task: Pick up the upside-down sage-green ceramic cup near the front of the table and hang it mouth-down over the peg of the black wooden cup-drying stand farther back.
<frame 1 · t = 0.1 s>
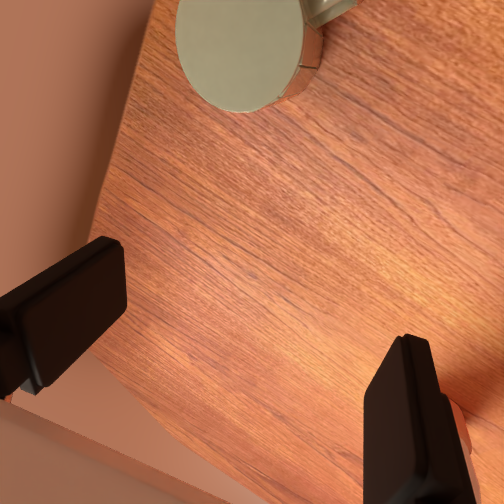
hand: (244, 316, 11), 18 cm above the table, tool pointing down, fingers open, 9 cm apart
pepper shaker: (423, 412, 35), on the table
cup: (273, 49, 23), on the table
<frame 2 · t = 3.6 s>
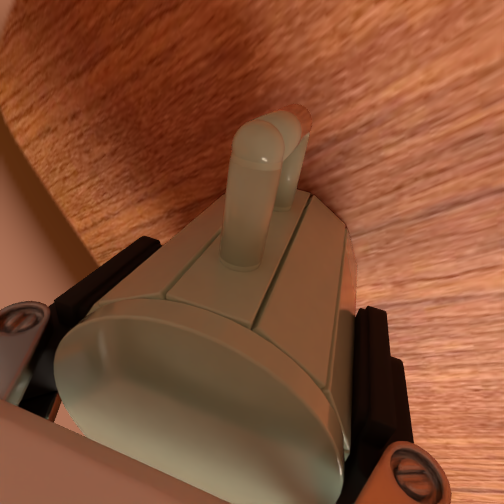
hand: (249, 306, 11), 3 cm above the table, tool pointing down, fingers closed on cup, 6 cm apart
cup: (271, 261, 14), on the table, touching gripper
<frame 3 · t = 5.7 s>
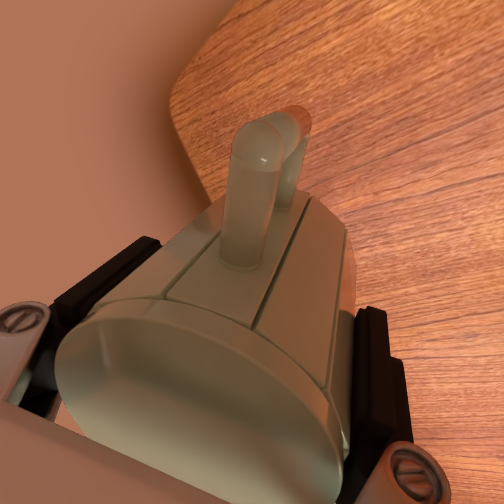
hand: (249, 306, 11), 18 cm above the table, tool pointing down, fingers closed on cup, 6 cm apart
cup: (271, 261, 14), point 15 cm above the table, touching gripper
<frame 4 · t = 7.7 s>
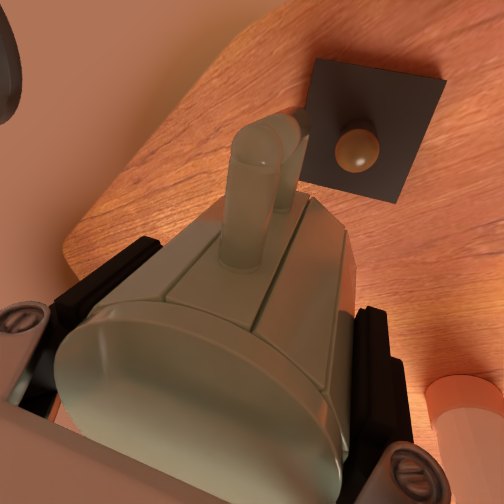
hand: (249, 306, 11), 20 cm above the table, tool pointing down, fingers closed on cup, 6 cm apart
cup stand: (358, 133, 25), on the table
pepper shaker: (462, 397, 35), on the table
cup: (271, 262, 14), point 17 cm above the table, touching gripper
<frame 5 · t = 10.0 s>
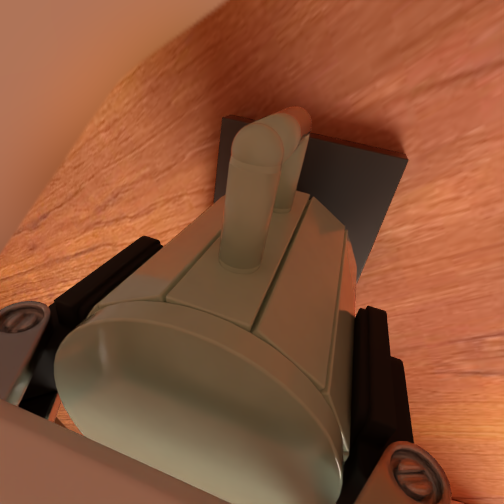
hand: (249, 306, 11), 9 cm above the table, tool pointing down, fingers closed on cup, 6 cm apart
cup stand: (293, 214, 18), on the table
cup: (271, 262, 14), point 6 cm above the table, touching gripper
when the fingers open (4 cm above the table, at t = 11.8 s): cup stays where it is, resting on cup stand.
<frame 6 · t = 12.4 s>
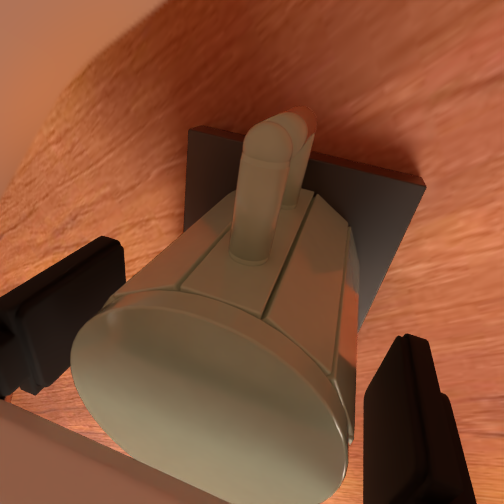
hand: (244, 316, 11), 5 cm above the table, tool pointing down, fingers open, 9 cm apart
cup stand: (281, 245, 15), on the table
cup: (276, 258, 14), point 1 cm above the table, touching cup stand
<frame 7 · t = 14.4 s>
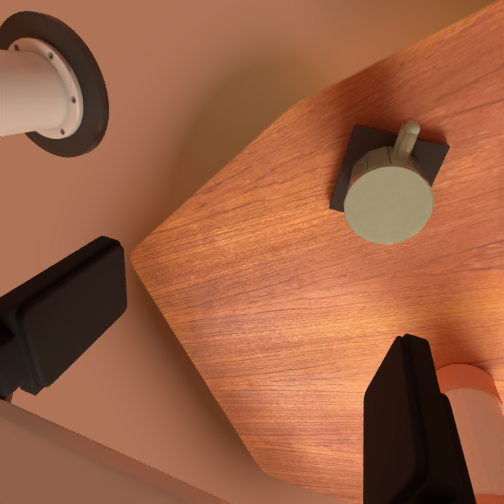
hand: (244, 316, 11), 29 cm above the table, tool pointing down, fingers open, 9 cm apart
cup stand: (383, 177, 34), on the table
pepper shaker: (460, 382, 43), on the table
cup: (383, 181, 33), point 1 cm above the table, touching cup stand
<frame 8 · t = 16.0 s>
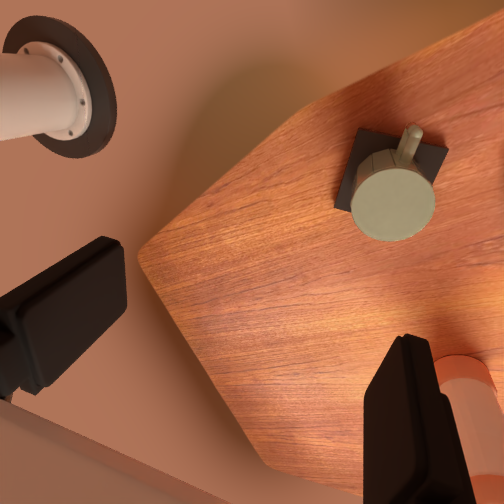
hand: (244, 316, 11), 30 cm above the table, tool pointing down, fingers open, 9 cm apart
cup stand: (385, 178, 36), on the table
pepper shaker: (457, 372, 45), on the table
cup: (386, 181, 35), point 1 cm above the table, touching cup stand
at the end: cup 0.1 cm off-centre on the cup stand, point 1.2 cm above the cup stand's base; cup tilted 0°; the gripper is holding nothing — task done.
